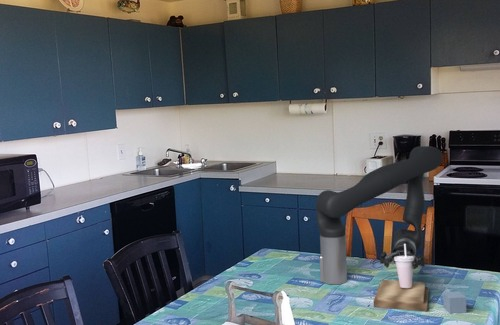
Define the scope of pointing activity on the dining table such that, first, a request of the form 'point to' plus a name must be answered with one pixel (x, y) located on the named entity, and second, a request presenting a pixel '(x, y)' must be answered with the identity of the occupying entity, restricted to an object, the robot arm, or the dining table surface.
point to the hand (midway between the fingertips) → (400, 265)
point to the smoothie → (404, 269)
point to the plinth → (401, 304)
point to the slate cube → (454, 302)
